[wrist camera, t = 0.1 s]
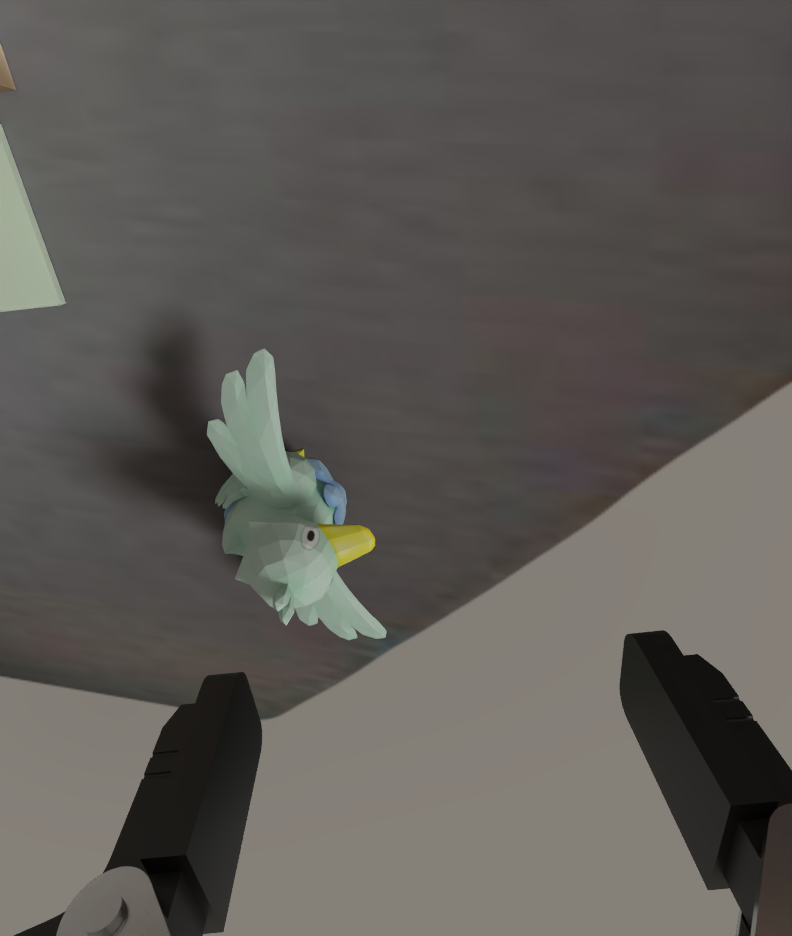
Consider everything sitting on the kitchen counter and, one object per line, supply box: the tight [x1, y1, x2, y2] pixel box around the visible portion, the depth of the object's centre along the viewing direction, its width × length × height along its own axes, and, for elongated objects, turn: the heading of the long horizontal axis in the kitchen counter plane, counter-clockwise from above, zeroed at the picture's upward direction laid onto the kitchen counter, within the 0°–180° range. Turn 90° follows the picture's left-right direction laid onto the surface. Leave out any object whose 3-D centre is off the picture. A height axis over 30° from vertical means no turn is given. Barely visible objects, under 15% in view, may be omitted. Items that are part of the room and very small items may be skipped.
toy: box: [207, 349, 387, 640], centre depth 36 cm, size 23×12×15 cm, turn 17°
